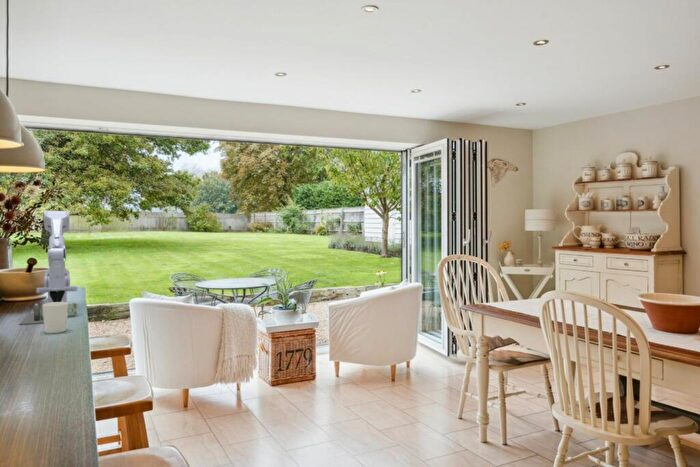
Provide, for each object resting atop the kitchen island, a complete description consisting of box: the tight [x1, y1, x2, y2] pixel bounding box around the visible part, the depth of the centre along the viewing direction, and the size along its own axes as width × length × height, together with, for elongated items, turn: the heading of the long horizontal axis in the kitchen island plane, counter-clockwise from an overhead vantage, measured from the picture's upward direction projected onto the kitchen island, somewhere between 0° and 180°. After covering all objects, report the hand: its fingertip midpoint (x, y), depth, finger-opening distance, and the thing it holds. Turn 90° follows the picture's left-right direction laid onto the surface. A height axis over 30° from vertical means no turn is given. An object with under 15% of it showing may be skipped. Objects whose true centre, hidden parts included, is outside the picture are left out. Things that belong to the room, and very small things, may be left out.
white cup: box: [42, 301, 69, 334], centre depth 182 cm, size 8×8×10 cm
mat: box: [18, 312, 44, 326], centre depth 204 cm, size 22×14×1 cm, turn 23°
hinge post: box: [33, 303, 41, 321], centre depth 197 cm, size 2×2×7 cm
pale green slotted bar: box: [40, 302, 78, 319], centre depth 204 cm, size 14×2×5 cm, turn 143°
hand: (57, 309), depth 208 cm, fingers closed
